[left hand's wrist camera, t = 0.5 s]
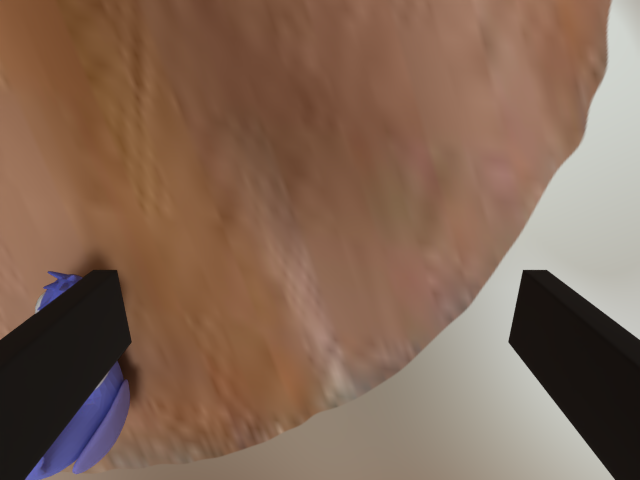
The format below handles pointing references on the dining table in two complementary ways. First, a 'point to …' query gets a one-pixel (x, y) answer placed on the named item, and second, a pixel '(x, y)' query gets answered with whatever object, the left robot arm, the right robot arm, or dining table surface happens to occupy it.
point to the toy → (85, 412)
